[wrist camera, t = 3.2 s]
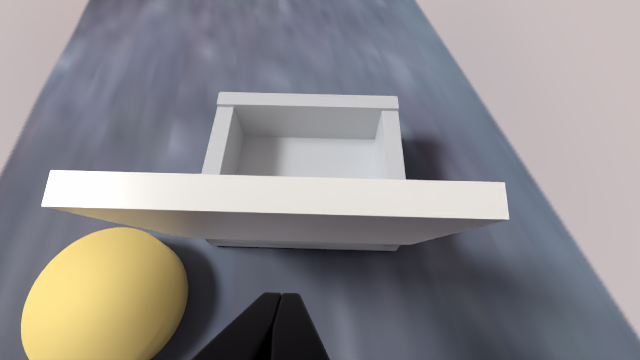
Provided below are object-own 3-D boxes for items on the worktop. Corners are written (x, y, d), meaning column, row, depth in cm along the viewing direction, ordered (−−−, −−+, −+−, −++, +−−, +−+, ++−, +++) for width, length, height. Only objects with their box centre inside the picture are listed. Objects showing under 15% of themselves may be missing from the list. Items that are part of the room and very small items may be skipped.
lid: (409, 226, 13) (409, 244, 12) (190, 220, 13) (188, 238, 12) (504, 182, 6) (509, 219, 6) (50, 170, 6) (41, 206, 6)
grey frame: (395, 251, 16) (412, 227, 13) (211, 245, 16) (187, 220, 13) (385, 135, 19) (397, 96, 16) (234, 131, 19) (219, 91, 16)
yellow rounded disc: (114, 413, 13) (88, 420, 11) (21, 324, 14) (-11, 320, 13) (215, 280, 15) (204, 273, 14) (126, 217, 17) (108, 204, 15)
